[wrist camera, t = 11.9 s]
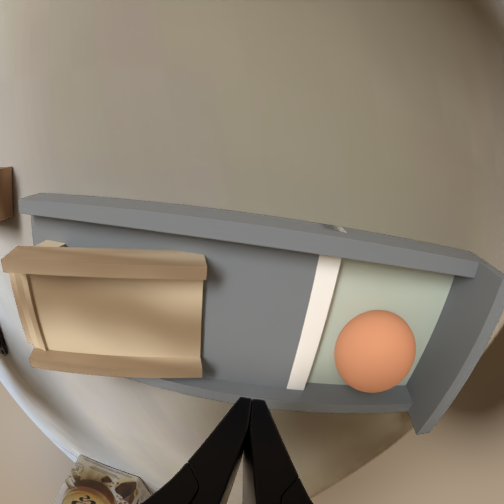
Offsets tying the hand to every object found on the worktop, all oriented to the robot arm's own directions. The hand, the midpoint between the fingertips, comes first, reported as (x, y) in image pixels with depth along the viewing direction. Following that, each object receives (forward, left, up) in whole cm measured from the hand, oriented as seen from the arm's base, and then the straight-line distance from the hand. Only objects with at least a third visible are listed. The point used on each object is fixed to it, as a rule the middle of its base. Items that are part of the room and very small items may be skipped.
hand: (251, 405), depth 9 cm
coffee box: (-30, +15, -6) cm, 34 cm away
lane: (0, +2, -6) cm, 6 cm away
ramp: (0, +8, -6) cm, 10 cm away
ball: (0, -5, -4) cm, 7 cm away
